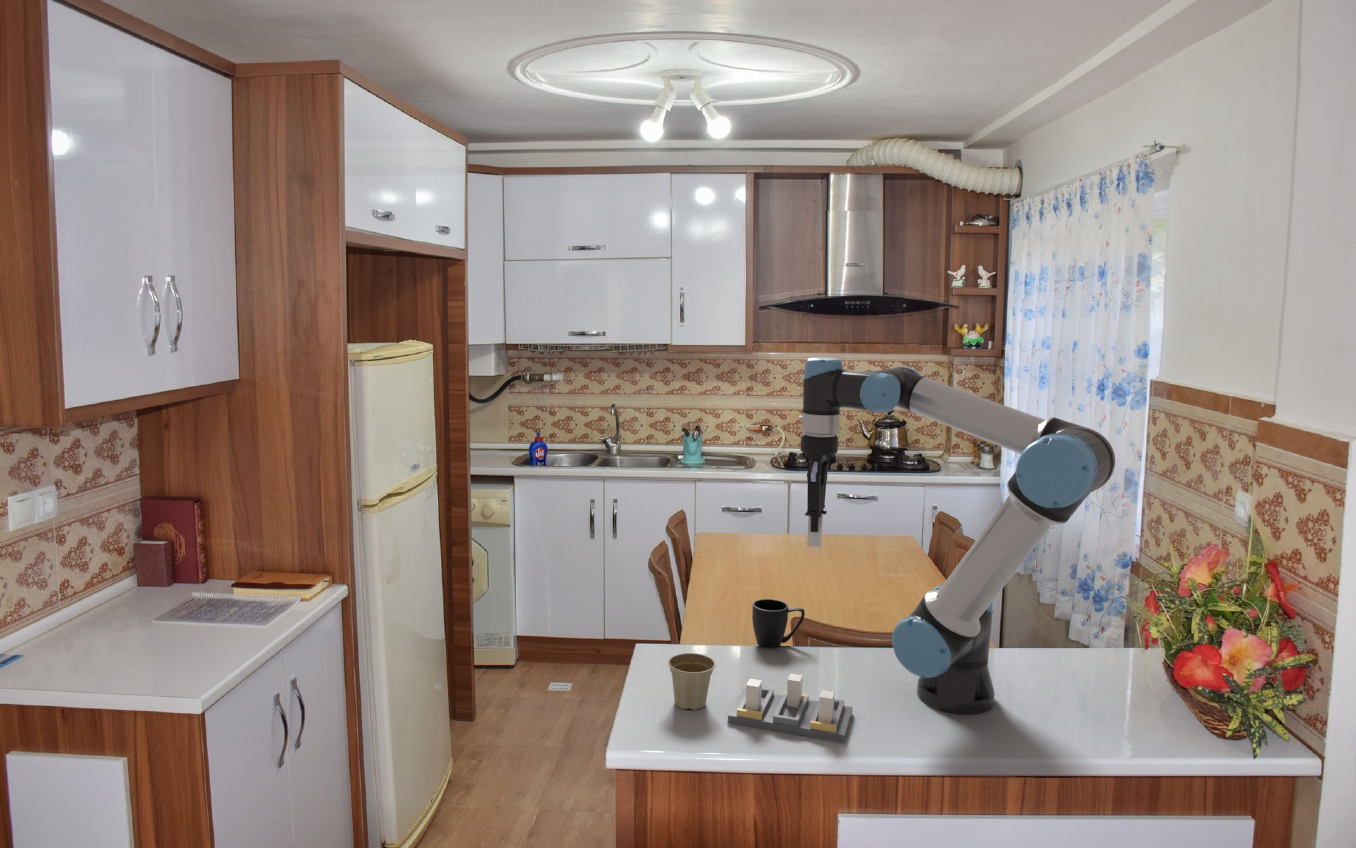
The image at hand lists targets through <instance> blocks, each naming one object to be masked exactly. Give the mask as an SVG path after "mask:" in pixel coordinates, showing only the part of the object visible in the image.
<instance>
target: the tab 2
mask: <svg viewBox="0 0 1356 848" xmlns="http://www.w3.org/2000/svg"><path fill="white" fill-rule="evenodd" d="M803 677H804V675H803V674H796V673H790V674H789V675H788V678H787V686H786V687H787V689H786V690H787V706H788V707H794V708H799V707H800V704H801V702H802V694H803V681H804V680H803V679H804V678H803Z"/></svg>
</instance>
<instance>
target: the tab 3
mask: <svg viewBox="0 0 1356 848" xmlns="http://www.w3.org/2000/svg"><path fill="white" fill-rule="evenodd" d="M834 699H835V691H829V690H824V689H823V690H822V689H821V692H820V695H819V698H818V701H819V716H818V722H823V723H829V724H832V722H833V715H834Z"/></svg>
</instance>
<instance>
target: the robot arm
mask: <svg viewBox="0 0 1356 848" xmlns="http://www.w3.org/2000/svg"><path fill="white" fill-rule="evenodd" d="M802 381H803V386H802V387H803V390H802V391H803V396H802V415H799V417H798V419H799V421H801V422H802V423H801V431H802V432H803V433H802V434H801V435H800V451H801V452H802V453H803V454H807V455H810V460H809V461H808V462H807V465H806V466H807V467H806V471H807V473H806V480H807V508H806V509H807V511H806V512H805V513H804V516H807V517H808V524H807V543H806V545H807V547H814V548H821V547H822V538H823V519H824V515H827V510H824V509H825V507H826V505H825V502H826V490H827V483H828V482H827V480H828V470H829V468H830V461H828V460H827V456H832V455H836V454H837V453H838V449H839V437H838V435H837V434H838V433H839V432H840V418H841V417H840V416H841V414H840V413H841V411H840V410H841V408H846V409H847V408H848V409H854V410H860V411H867V412H871V413H890V412H892V411H894V409H895V407H897V408H900V409H902V410H906V411H908V412H911V413H914V414H916V415H919V416H922V417H924V418H927V419H929V420H931V421H934V422H937V423H939V424H942V425H945V426H948V427H950V428H952V429H955V430H958V431H959V432H962V433H966V434H967V435H970V436H973V437H975V438H978V439H981V440H983V441H986V442H989V443H992V444H994V445H997V446H999V447H1001V448H1003V449H1004V448H1005V449H1007V450H1009V451H1012V452H1014V453H1017V454H1020V456H1019V458H1018V459H1017V463H1016V465H1015V466H1016V467H1015V471H1014V473H1013V474H1012V476H1011V477H1010V479H1009V480H1008V481H1007V483H1006V486H1007V491H1008V496H1007V498H1006V499H1005V501H1004V502H1003V503H1002V505H1001V506H1000V507H999V508H998V510H997V511H996V513H995V514H994V515H993V517H992V518H991V520H990V521H989V522H988V523H987V525H986V526H985V528H984V529H983V530H982V532H981V533H980V534H979V536H978V537H977V538H976V539H975V541H974V543H973V544H972V545H971V546H970V548H969V549H968V551H967V552H966V553H965V554H964V556H963V557H962V559H960V561H959V563H958V564H957V565H956V567H955V568H954V569H953V570H952V572H951V573H950V575H949V576H948V578H947V579H946V580H945V581H944V583H943V584H939V585H936V586H935V587H934V588H933V589H931V590H928V591H927V592H926V593H925V594H924V596H923V597H922V599H920V601H919V603H918V604H917V605H916V607H915V608H914V609H913V611H912V612H911V613H910V614H909V615H908V616H907V617H904V618H902V619H901V620H899V622H898V623H897V624H896V626H895V627H894V629H893V631H892V635H891V645H892V648H893V652H894V655H895V656H896V659H897V661H898V662H899V663H900V664H901V666H902V667H903V668H905V670H907V671H908V672H910V673H911V674H912V675H914V676H917V677H919V678H918V679H917V680H918V681H917V688H916V695H917V696H918V697H919V699H920V700H921V701H923V702H924V703H925V704H927V705H928V706H930V707H933V708H935V709H938V710H940V711H941V710H942V711H944V712H948V713H953V714H960V715H962V714H963V715H975V714H981V713H985V712H988V711H989V710H991V709H992V708H993V707H994V705H995V689H994V685H993V680H992V678H991V673H990V670H989V655H990V654H989V653H990V646H991V645H990V643H991V632H992V624H993V623H992V622H993V620H992V619H993V614H994V610H993V603H994V601H995V599H996V598H997V596H998V595H999V594H1000V593H1001V591H1002V590H1003V589H1004V587H1005V586H1006V585H1007V584H1008V582H1010V580H1011V579H1012V577H1013V576H1014V575H1015V573H1016V572H1017V571H1018V570H1019V568H1020V567H1021V566H1022V565H1023V563H1024V562H1025V561H1026V559H1027V558H1028V557H1029V555H1030V554H1031V553H1032V551H1034V549H1035V548H1036V546H1038V544H1039V543H1040V541H1041V540H1042V539H1043V538H1044V536H1046V534H1047V533H1048V531H1049V530H1050V528H1051V527H1052V526H1053V525H1064V524H1066V523H1067V522H1068V521H1069V520H1070V519H1071V517H1072V516H1073V515H1074V513H1075V512H1076V511H1077V509H1078V508H1080V506H1081V505H1082V503H1083V502H1084V501H1085V500H1086V498H1087V497H1088V496H1089V495H1090V494H1091V493H1092V492H1095V491H1097V490H1098V489H1100V488H1102V487H1103V486H1105V485H1106V484H1107V483H1108V481H1109V480H1110V479H1111V478H1112V475H1113V474H1114V471H1115V467H1116V457H1115V455H1116V454H1115V452H1114V449H1113V446H1112V444H1111V443H1110V441H1109V440H1108V439H1107V438H1106V437H1105V436H1104V435H1102V433H1100V432H1099V431H1096V430H1094V429H1093V428H1088V427H1086V426H1082V425H1079V424H1075V423H1072V422H1069V421H1066V420H1063V419H1061V418H1057V417H1055V416H1052V417H1049V418H1047V419H1045V418H1041V417H1038V416H1036V415H1032V414H1029V413H1027V412H1024V411H1021V410H1018V409H1016V408H1012V407H1010V406H1007V405H1004V404H1001V403H999V402H996V401H993V400H991V399H987V398H986V397H982V396H980V395H976V394H973V393H970V392H967V391H965V390H962V389H960V388H956V387H954V386H952V385H947V384H945V383H942V382H939V381H936V380H934V379H931V378H928V377H925V376H922V375H921V374H920V373H919V372H918V371H917V370H916V369H914V368H911V367H905V366H900V367H898V366H897V367H894V368H887V369H878V370H871V371H869V370H868V371H861V370H850V369H849V370H848V369H843V361H842V360H841V359H840V358H834V357H809V358H807V360H805V363H804V373H803V378H802Z"/></svg>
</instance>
